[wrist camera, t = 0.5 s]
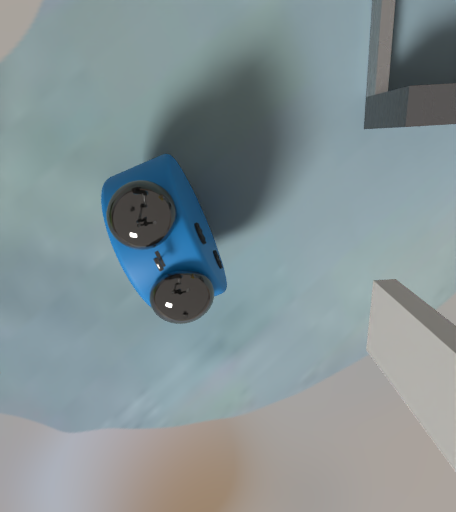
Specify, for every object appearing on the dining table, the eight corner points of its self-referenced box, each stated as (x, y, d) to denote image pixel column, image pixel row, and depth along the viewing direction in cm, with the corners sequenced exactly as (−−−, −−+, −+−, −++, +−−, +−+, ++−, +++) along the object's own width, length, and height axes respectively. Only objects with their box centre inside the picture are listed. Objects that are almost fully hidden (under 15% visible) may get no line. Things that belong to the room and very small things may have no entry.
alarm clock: (123, 172, 36) (66, 194, 22) (178, 148, 36) (156, 155, 21) (177, 280, 40) (159, 358, 26) (227, 260, 40) (236, 328, 25)
